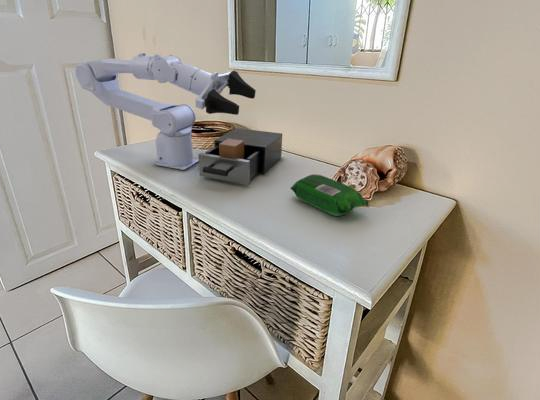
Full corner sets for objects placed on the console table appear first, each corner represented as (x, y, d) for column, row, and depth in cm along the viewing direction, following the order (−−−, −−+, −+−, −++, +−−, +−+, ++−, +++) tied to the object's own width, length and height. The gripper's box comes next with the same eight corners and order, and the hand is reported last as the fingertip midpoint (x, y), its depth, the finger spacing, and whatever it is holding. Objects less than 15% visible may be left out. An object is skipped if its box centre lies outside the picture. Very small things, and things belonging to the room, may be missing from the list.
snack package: (345, 227, 62) (350, 202, 60) (287, 196, 74) (288, 175, 71) (368, 216, 66) (373, 192, 64) (309, 189, 77) (311, 168, 75)
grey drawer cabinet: (264, 174, 85) (265, 147, 82) (215, 166, 91) (214, 140, 87) (281, 158, 96) (282, 133, 92) (236, 151, 102) (235, 128, 98)
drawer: (240, 192, 74) (240, 168, 72) (190, 182, 80) (188, 159, 77) (266, 167, 88) (267, 146, 85) (222, 160, 93) (221, 140, 90)
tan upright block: (219, 171, 83) (218, 144, 80) (228, 164, 87) (228, 138, 84) (235, 174, 81) (235, 146, 78) (244, 167, 85) (244, 140, 82)
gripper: (178, 80, 73) (231, 102, 69) (214, 53, 81) (263, 72, 77) (180, 107, 78) (229, 129, 74) (213, 79, 86) (259, 98, 83)
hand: (246, 102), depth 76 cm, fingers open, 7 cm apart
